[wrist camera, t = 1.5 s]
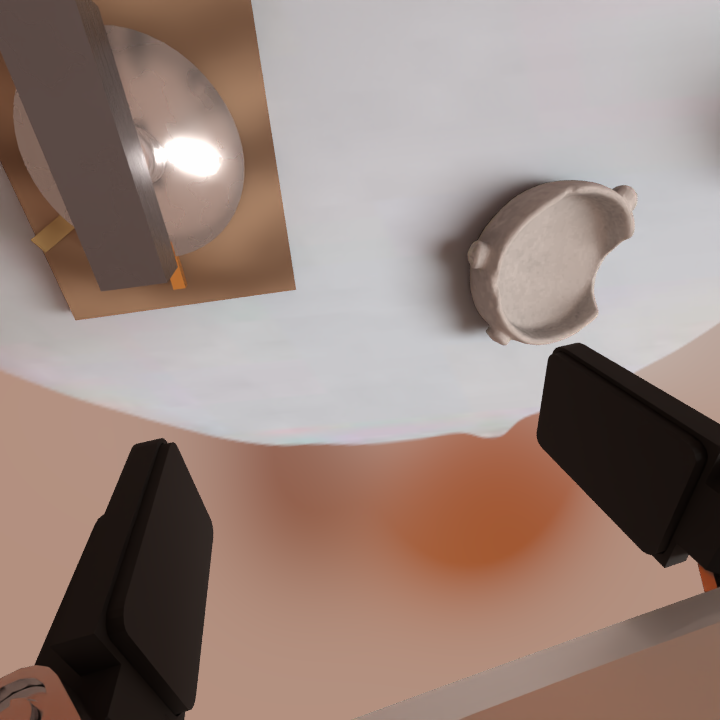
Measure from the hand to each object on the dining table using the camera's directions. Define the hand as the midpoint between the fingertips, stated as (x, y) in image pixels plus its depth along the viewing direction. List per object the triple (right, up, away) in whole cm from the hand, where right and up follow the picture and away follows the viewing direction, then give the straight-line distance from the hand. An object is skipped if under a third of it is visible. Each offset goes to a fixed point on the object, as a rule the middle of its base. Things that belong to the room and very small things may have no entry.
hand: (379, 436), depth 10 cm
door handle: (-14, +14, +15) cm, 25 cm away
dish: (+15, +12, +27) cm, 33 cm away
